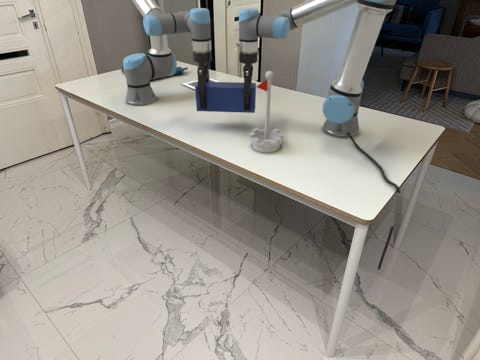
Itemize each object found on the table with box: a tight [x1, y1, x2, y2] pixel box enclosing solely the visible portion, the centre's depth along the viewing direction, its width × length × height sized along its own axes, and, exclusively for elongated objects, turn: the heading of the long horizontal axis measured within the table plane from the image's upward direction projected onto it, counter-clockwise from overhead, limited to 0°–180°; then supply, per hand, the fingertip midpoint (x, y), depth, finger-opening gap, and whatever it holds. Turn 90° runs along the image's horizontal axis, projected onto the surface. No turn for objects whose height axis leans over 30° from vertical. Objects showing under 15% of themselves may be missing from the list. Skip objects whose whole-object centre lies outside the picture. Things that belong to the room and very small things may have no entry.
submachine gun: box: [150, 66, 189, 81], centre depth 223 cm, size 34×4×25 cm
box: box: [194, 81, 257, 114], centre depth 147 cm, size 25×8×11 cm, turn 85°
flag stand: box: [249, 70, 284, 153], centre depth 129 cm, size 13×13×30 cm
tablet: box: [181, 77, 221, 91], centre depth 200 cm, size 32×20×1 cm, turn 41°
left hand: (205, 105), depth 150 cm, fingers closed on box, 7 cm apart
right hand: (247, 106), depth 148 cm, fingers closed on box, 7 cm apart
